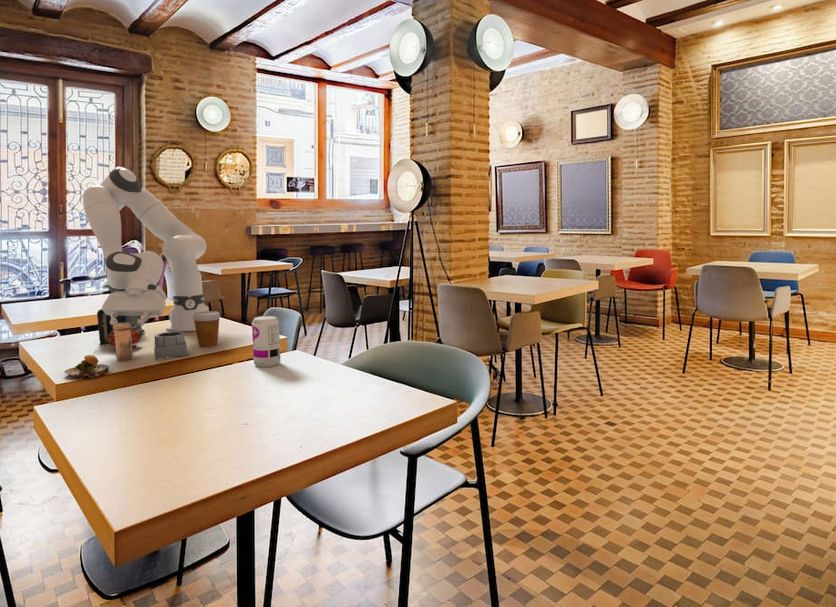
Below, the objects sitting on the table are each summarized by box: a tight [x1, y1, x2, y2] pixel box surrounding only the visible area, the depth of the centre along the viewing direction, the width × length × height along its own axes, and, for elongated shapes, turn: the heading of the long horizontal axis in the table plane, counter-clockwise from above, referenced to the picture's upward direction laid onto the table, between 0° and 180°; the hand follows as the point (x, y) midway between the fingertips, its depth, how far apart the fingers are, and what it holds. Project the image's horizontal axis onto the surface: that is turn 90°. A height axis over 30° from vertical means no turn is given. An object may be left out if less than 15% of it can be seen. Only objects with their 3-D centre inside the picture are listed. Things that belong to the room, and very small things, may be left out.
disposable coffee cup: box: [192, 310, 221, 348], centre depth 213 cm, size 10×10×12 cm
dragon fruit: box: [108, 330, 142, 349], centre depth 211 cm, size 8×8×12 cm
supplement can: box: [251, 315, 281, 368], centre depth 187 cm, size 8×8×15 cm
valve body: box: [153, 331, 189, 360], centre depth 203 cm, size 16×10×7 cm, turn 25°
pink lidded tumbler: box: [113, 323, 134, 362], centre depth 194 cm, size 5×5×12 cm
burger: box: [64, 351, 110, 380], centre depth 177 cm, size 12×12×8 cm
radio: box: [96, 307, 146, 347], centre depth 226 cm, size 23×9×15 cm, turn 167°
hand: (126, 324), depth 198 cm, fingers open, 8 cm apart
